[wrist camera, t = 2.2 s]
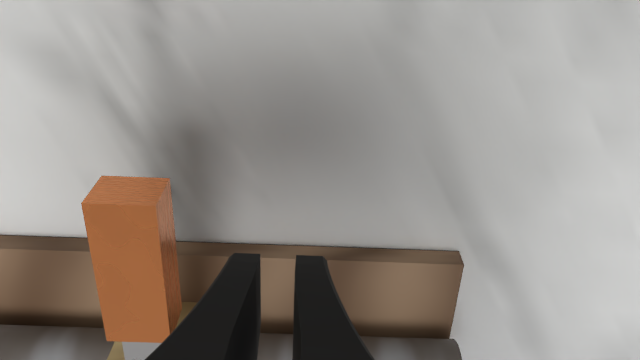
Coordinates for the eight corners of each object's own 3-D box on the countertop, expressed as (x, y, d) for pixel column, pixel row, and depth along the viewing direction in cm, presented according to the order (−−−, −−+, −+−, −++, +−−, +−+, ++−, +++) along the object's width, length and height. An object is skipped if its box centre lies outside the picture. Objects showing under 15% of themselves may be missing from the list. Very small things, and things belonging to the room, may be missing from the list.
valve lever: (203, 458, 23) (195, 496, 21) (138, 456, 23) (126, 495, 21) (179, 178, 17) (166, 206, 15) (91, 175, 17) (70, 202, 15)
